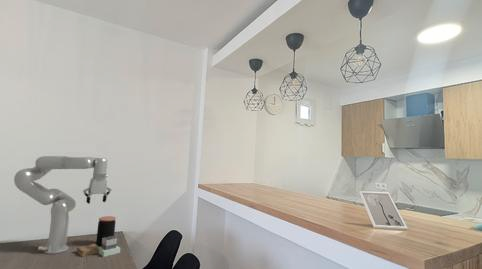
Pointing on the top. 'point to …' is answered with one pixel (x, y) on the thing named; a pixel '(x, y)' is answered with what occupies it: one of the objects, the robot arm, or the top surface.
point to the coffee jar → (105, 228)
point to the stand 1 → (88, 250)
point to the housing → (109, 242)
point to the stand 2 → (108, 251)
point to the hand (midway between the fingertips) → (96, 202)
